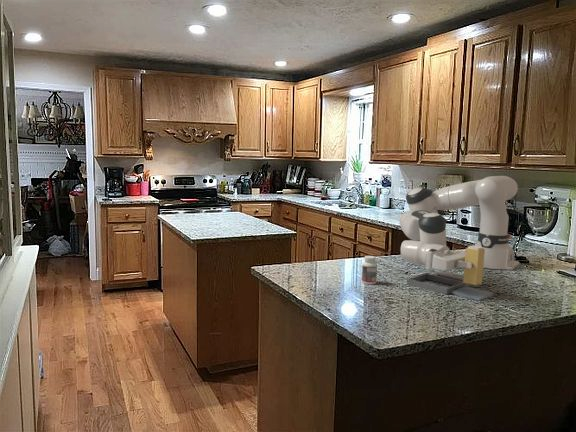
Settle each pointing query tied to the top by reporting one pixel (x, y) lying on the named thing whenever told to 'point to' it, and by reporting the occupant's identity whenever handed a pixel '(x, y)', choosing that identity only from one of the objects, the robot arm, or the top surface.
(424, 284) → the case
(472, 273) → the block
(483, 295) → the mat
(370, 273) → the pill bottle
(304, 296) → the top surface
